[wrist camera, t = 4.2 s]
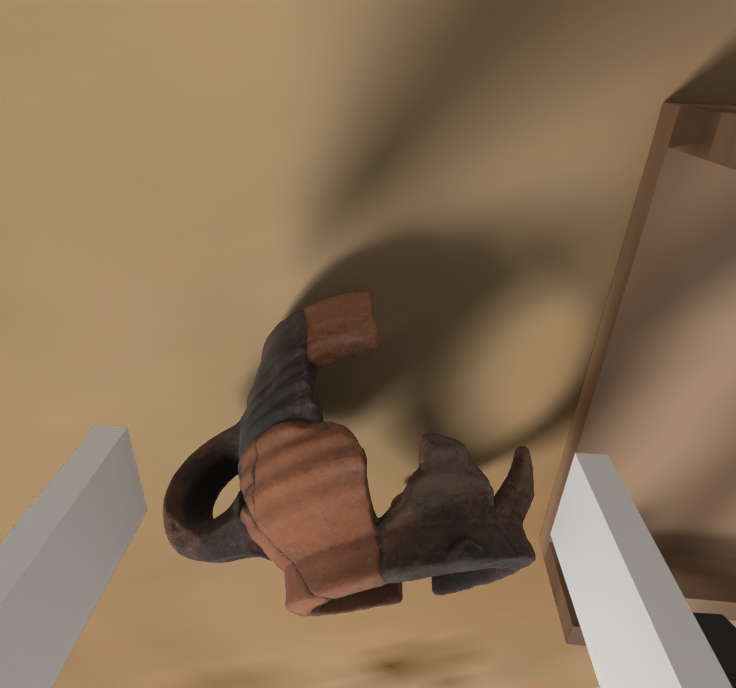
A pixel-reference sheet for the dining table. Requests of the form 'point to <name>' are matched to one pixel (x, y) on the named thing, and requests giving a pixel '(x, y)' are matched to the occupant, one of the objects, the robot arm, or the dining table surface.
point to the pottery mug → (341, 488)
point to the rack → (670, 364)
